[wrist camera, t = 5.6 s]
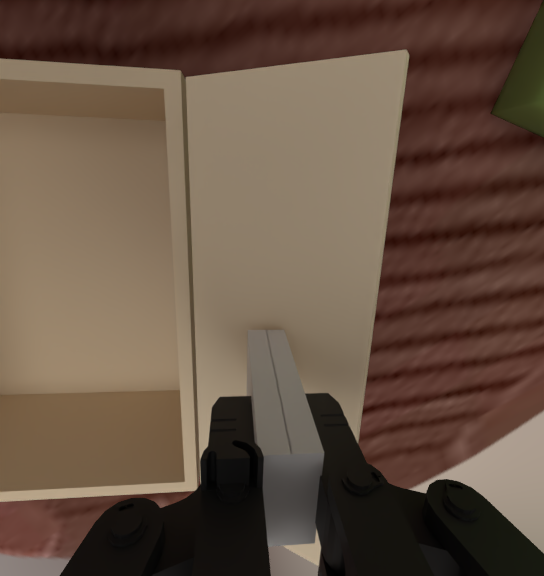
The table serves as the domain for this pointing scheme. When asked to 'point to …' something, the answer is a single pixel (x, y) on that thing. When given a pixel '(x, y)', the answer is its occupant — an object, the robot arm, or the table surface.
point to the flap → (291, 221)
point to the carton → (95, 283)
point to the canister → (526, 83)
